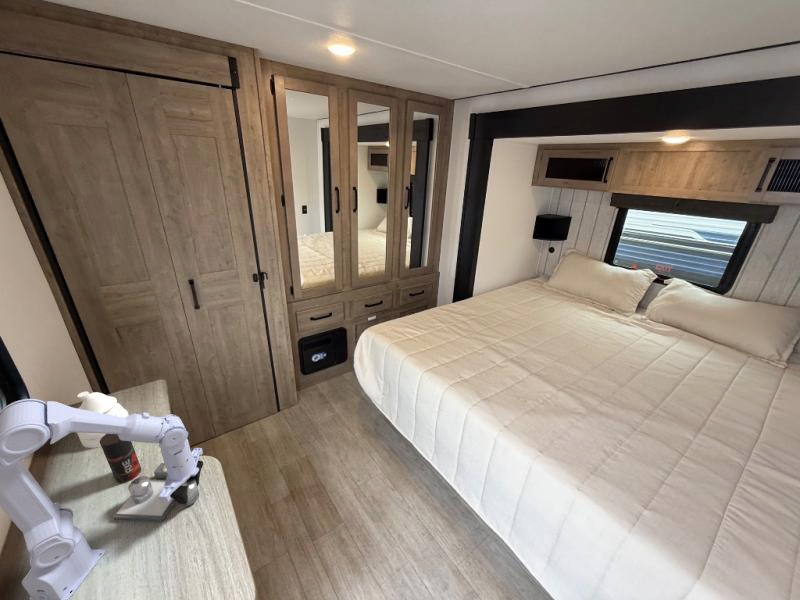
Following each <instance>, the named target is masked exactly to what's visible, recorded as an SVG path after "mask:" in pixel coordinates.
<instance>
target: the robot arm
mask: <svg viewBox="0 0 800 600" xmlns="http://www.w3.org/2000/svg"><path fill="white" fill-rule="evenodd" d="M128 415H129V416H127V417H125V418H123V417H118V416H113V415H108V414H103V413H98V412H93V411H87V410H82V409H78V407H73V406H69V405H67V404H64V403H61V402H59V401H53V400H52V401H51V400H47V401H44V400H41V399H37V398H36V399H35V398H24V399H20V400H17V401H16V400H15V401H13V402H11V403H10V404H8V405H6V406H5V407H3V408H2V409H1V410H0V508H1V510H2V511H3V512H4V513H5V515H7V516H8V517H9V519H10V520H11V521H12V522H13V523H14V524H15V525H16V527H17V528H18V529H19V530H20V532H21V533H22V534H23V538H24V541H25V546H26V550H27V551H28V553H30V556H29V557H30V558H29V566H30V570H29V571H28V572H27V574H26V575H25V577H23V578H22V581H21V585H22V587H23V588H24V590H25V591H26V592H27V594H29V598H28V599H29V600H70V599H71V597H72V595H74V593H75V590H78V588H79V587H80V586H81V584H82V583H83V581H84V580H85V579H86V578H87V576H88V575H89V574H90V572H92V570H93V569H94V567H96V565H97V564H98V562H99V561H100V560H101V558H102V557H103V555H104V554H105V553H106V549H93V548H91V547H90V544H89V542H88V541H87V539H86V537H85V535H84V534H83V532H82V530H81V529H80V528H78V527H77V526H74V519H73V518H74V511H73V510H72V509H71V508H69V507H66V506H65V507H64V506H62V505H61V504H60V503H59V502H58V501H57V502H53V501H52V500H51V499H50V497H49V495H47V493H46V492H45V491H44V489H43V488H42V487H41V486H40V484H39V483H38V481H37V480H36V479H35V477H34V476H33V475H32V473H31V472H30V471H29V469H28V468H27V467H26V466H25V464H24V462H23V461H22V460H24V459H26V458H28V457H29V456H30V455H32V454H33V453H34V452H36V451H38V450H39V449H41V448H42V447H43V446H44V445H46V443H47V442H48V441H49V444H50V445H53V444H55V443H56V442H58V441H60V440H61V439H62V438H65V437H66V436H68V435H70V434H71V433H77V432H78V433H102V434H118V436H119V438H120V440H122V441H131V442H132V443H133V442H134V443H135V442H136V443H148V444H158V448H160V453H161V457H162V459H163V463H165V466H166V469H167V472H168V476H167V479H166V481H165V484H164V487H163V490H162V492H161V494H160V495H159V500H160V502H169V500H170V499H171V498H173V499H174V500H175V501H176V502H175V503H177V504H178V505H182V504H186V503H187V502H188V498H187V489H188V486H182V484H183V483H184V482H185V481H186V480H187V479H189V478H193V479H195V481H196V484H197V487H198V486H199V484H200V477H201V476H200V475H201V471H202V469H203V466H204V461H202V460H199V459H200V457H202V455H203V454H204V452H203V448H202V447H194V448H193V450H191V448H190V447H191V446H190V442H189V440H188V436H189V431H187V429H186V427H185V425H184V423H183V421H182V419H181V418H180V416H177V415H175V414H172V413H171V414H167V415H164V416H154V415H150V413H149V412H145V411H144V412H142V413H132V414H128ZM71 591H72V592H71ZM70 592H71V593H70Z"/></svg>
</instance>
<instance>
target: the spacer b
mask: <svg viewBox="0 0 800 600" xmlns="http://www.w3.org/2000/svg"><path fill="white" fill-rule="evenodd" d="M182 486H188V489H187V498H188V502H187V503H186V504H181V505H182V506H184V507H185V506H186V507H188V506H191V505H192V504H194V503H195V502H196V501H197V500H198V499H199V497H200V491H199V488H198V486H197V484H196V481H195V479H193V478H189V479H187V480H186V481H185V482H184V483H183V484H182Z"/></svg>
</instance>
